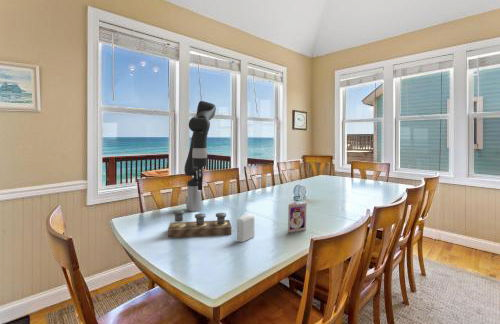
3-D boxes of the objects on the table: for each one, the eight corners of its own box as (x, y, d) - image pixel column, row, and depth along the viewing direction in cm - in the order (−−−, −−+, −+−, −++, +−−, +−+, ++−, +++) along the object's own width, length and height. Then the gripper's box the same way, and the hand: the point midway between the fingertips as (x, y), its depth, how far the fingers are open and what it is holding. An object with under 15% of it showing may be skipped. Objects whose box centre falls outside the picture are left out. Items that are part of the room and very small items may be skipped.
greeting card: (288, 233, 141) (289, 205, 139) (281, 228, 148) (282, 202, 146) (306, 230, 145) (307, 203, 144) (299, 226, 152) (299, 200, 151)
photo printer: (242, 243, 127) (242, 217, 126) (235, 240, 130) (235, 216, 129) (255, 237, 135) (255, 213, 134) (249, 235, 138) (249, 211, 137)
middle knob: (194, 226, 138) (194, 216, 138) (195, 222, 143) (194, 213, 143) (205, 225, 139) (205, 216, 138) (205, 222, 144) (205, 213, 144)
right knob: (215, 225, 140) (215, 215, 139) (215, 221, 145) (215, 212, 145) (226, 224, 141) (226, 215, 140) (225, 221, 146) (225, 212, 146)
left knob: (172, 222, 136) (172, 212, 135) (173, 219, 141) (173, 210, 141) (183, 222, 137) (183, 212, 136) (184, 218, 142) (184, 209, 142)
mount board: (167, 238, 133) (167, 229, 133) (170, 229, 145) (170, 222, 144) (231, 234, 138) (231, 226, 138) (229, 226, 150) (229, 219, 150)
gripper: (207, 157, 132) (207, 192, 134) (206, 155, 145) (206, 187, 147) (192, 158, 131) (192, 192, 132) (192, 155, 144) (192, 187, 145)
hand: (200, 189), depth 140 cm, fingers closed
